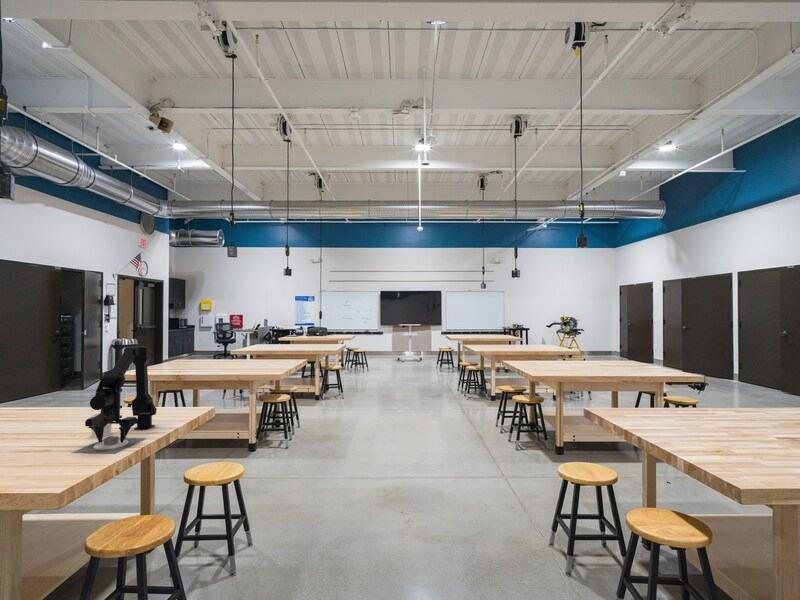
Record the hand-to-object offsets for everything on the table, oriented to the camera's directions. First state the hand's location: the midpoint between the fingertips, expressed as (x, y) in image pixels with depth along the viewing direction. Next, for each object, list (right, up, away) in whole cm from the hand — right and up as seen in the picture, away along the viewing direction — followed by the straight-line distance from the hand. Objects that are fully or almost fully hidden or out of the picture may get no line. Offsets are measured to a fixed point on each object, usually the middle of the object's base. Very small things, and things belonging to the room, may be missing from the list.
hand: (111, 442), depth 177 cm
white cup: (-13, -2, +13) cm, 19 cm away
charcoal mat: (0, -2, 0) cm, 2 cm away
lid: (0, -1, 0) cm, 1 cm away
